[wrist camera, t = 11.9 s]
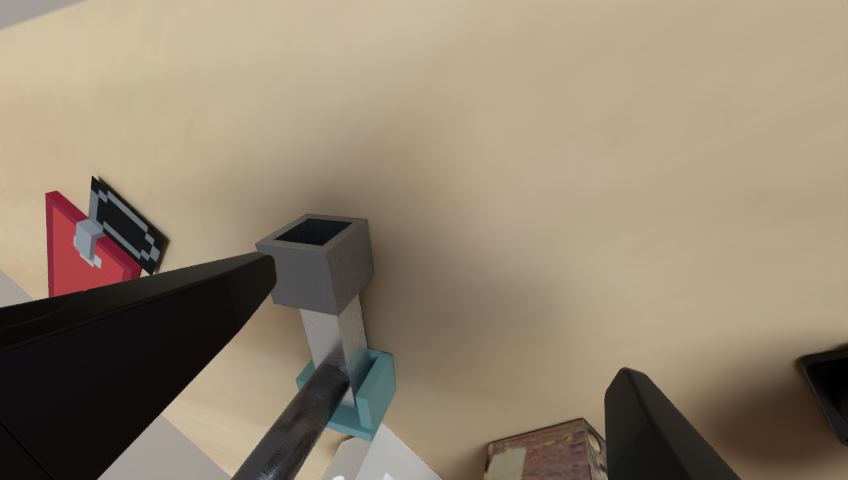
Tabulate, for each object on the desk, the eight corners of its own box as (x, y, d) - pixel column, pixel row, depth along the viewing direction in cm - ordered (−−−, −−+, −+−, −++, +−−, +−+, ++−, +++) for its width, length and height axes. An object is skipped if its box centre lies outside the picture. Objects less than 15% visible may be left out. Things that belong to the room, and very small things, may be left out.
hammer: (319, 262, 24) (153, 400, 13) (354, 267, 23) (205, 419, 13) (342, 371, 29) (235, 530, 19) (372, 378, 28) (276, 550, 18)
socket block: (328, 339, 29) (292, 383, 25) (391, 353, 27) (364, 404, 23) (336, 373, 31) (304, 420, 27) (396, 389, 29) (371, 442, 25)
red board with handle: (188, 250, 30) (64, 136, 29) (157, 265, 28) (21, 140, 26) (142, 362, 46) (61, 291, 45) (121, 377, 44) (34, 303, 43)
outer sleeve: (306, 213, 23) (255, 243, 19) (367, 219, 22) (325, 253, 18) (318, 265, 25) (273, 303, 21) (374, 274, 24) (338, 316, 20)
